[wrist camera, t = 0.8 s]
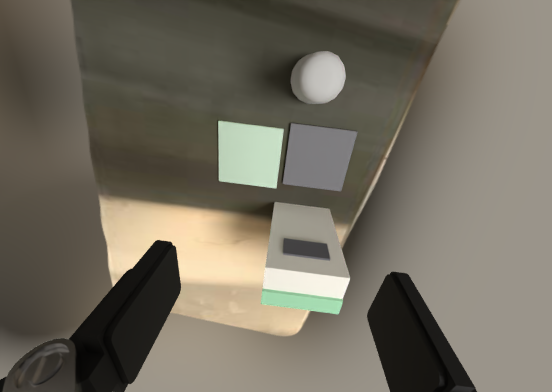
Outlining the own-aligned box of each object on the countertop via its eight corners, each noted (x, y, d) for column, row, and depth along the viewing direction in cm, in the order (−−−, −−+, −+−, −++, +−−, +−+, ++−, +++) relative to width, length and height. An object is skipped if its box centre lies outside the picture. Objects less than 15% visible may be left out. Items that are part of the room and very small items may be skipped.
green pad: (219, 120, 34) (218, 120, 34) (283, 128, 34) (283, 129, 34) (219, 179, 39) (218, 180, 38) (276, 186, 39) (276, 188, 38)
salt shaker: (340, 67, 30) (371, 57, 18) (320, 108, 32) (336, 123, 21) (301, 47, 29) (307, 25, 18) (284, 92, 32) (279, 97, 20)
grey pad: (291, 122, 34) (291, 123, 33) (356, 130, 34) (357, 131, 33) (282, 182, 38) (282, 183, 38) (340, 189, 38) (340, 191, 38)
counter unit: (274, 200, 40) (265, 268, 25) (329, 207, 40) (351, 279, 25) (271, 229, 43) (260, 305, 28) (322, 236, 43) (337, 315, 28)
